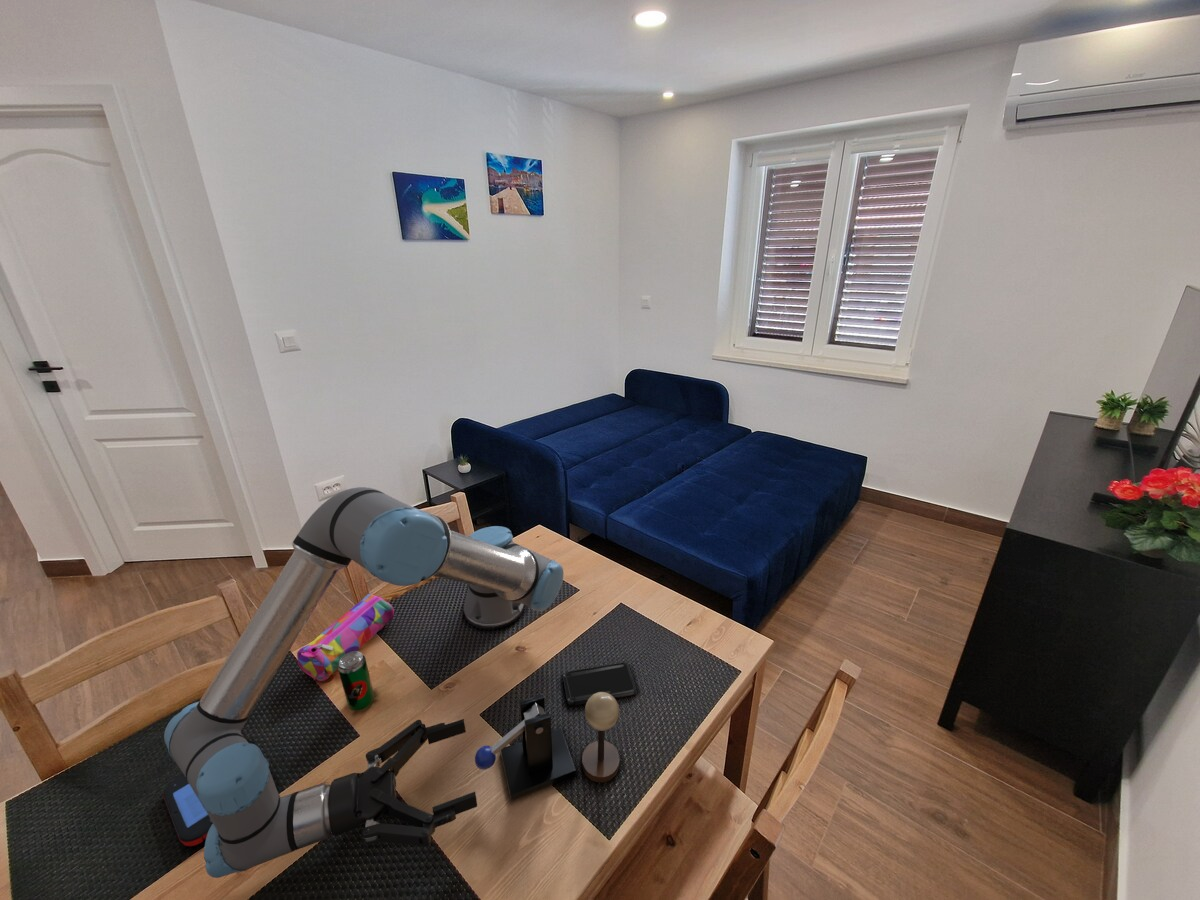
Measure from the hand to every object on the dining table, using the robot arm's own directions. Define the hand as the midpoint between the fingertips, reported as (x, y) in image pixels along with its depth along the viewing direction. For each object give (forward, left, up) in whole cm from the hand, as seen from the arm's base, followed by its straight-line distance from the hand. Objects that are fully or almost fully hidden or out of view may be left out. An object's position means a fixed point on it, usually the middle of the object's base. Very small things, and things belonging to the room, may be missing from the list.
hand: (470, 759), depth 83 cm
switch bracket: (0, +12, -8) cm, 14 cm away
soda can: (-26, -19, -8) cm, 33 cm away
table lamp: (+4, +23, -8) cm, 24 cm away
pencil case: (-42, -22, -8) cm, 48 cm away
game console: (-15, -41, -8) cm, 45 cm away
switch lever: (0, +8, +1) cm, 8 cm away
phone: (-12, +29, -8) cm, 32 cm away
